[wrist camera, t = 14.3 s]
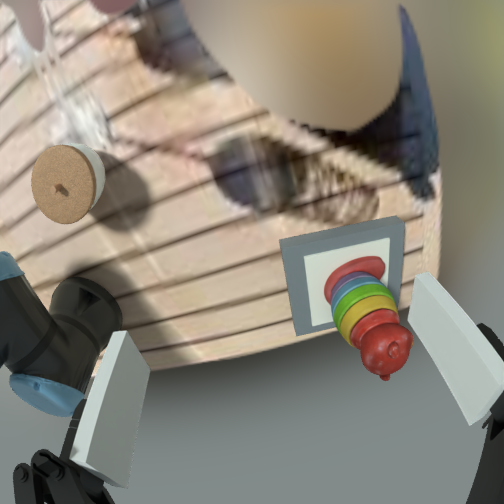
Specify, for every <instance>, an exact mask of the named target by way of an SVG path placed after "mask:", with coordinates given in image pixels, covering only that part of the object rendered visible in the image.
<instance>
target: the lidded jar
mask: <svg viewBox="0 0 504 504" xmlns="http://www.w3.org/2000/svg"><path fill="white" fill-rule="evenodd" d="M104 185H105V169H104V165H103V162H102V160H101V158H100V157H99V155H98V154H97V153H96V152H95V151H94V150H93V149H91V148H90V147H88V146H86V145H83V144H78V143H68V144H62V145H56V146H53V147H51V148H49V149H47V150H45V151H44V152H43V153H42V154H41V155H40V156H39V158H38V159H37V161H36V163H35V165H34V168H33V172H32V179H31V186H32V192H33V196H34V199H35V201H36V204H37V205H38V207H39V209H40V210H41V211H42V212H43V214H44V215H45V216H47V217H48V218H49V219H51V220H52V221H54V222H57V223H61V224H71V223H74V222H77V221H79V220H80V219H82V218H83V217H84V216H85V215H86V214H87V213H88V212H89V210H90V209H91V208H93V206H94V205H95V204H96V202H97V201H98V200H99V198H100V196H101V194H102V192H103V189H104Z"/></svg>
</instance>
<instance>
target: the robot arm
mask: <svg viewBox="0 0 504 504" xmlns="http://www.w3.org/2000/svg"><path fill="white" fill-rule="evenodd" d="M24 274H25V273H24V272H23V271H21V269H20V268H19V266H18V265H17V263H16V261H15V260H14V258H13V257H12V255H11V254H10V253H8V252H5V251H2V252H0V368H1V366H2V365H3V364H5V366H6V367H7V368H8V369H9V370H10V371H11V372H12V375H10V381H9V383H10V387H11V388H12V390H13V391H14V392H15V393H16V394H17V395H18V396H19V397H20V398H21V399H22V400H24V401H25V402H27V403H28V404H30V405H31V406H33V407H35V408H37V409H39V410H41V411H43V412H46V413H48V414H51V415H55V416H60V417H69V416H72V415H73V416H72V420H71V422H70V425H69V427H70V428H68V431H67V434H66V438H65V441H64V444H63V447H62V451H61V454H60V457H59V458H58V457H57V456H55V455H54V454H53V453H51V452H50V451H48V450H46V449H41V450H38V451H37V452H36V453H35V454H34V456H33V457H32V459H31V466H29V465H28V464H26V463H20V464H18V465H17V466H16V468H15V470H14V472H13V483H14V494H15V503H16V504H44V502H46V503H47V504H115V503H114V501H113V499H112V498H111V496H110V495H109V493H108V491H107V489H106V488H105V487H104V486H103V484H104V481H105V482H106V483H108V484H110V485H112V486H116V487H122V488H128V484H129V477H130V471H131V464H132V458H133V452H134V446H135V441H136V435H137V430H138V425H139V420H140V415H141V410H142V405H143V401H144V396H145V391H146V387H147V382H148V378H149V374H150V370H151V369H150V367H149V366H148V364H147V363H146V361H145V360H144V358H143V356H142V355H141V353H140V352H139V350H138V348H137V347H136V345H135V343H134V342H133V340H132V338H131V337H130V335H129V333H128V331H120V328H121V325H122V314H121V311H120V308H119V306H118V304H117V303H116V301H115V300H114V298H113V297H112V296H111V295H110V294H109V293H108V292H107V291H106V290H105V289H104V288H102V287H101V286H100V285H98V284H96V283H94V282H92V281H90V280H88V279H84V278H79V277H72V278H67V279H65V280H63V281H62V282H61V283H60V284H59V285H58V287H57V288H56V289H55V291H54V293H53V295H52V299H51V304H50V307H49V311H47V309H46V308H45V306H44V305H43V304H42V302H41V301H40V299H39V298H38V296H37V295H36V293H35V291H34V290H33V288H32V287H31V285H30V283H29V282H28V280H27V278H26V277H25V275H24ZM408 322H409V323H410V325H411V326H412V328H413V329H414V331H415V332H416V334H417V336H418V337H419V339H420V340H421V342H422V343H423V345H424V347H425V348H426V350H427V351H428V353H429V354H430V356H431V358H432V359H433V361H434V363H435V364H436V366H437V368H438V370H439V371H440V373H441V374H442V376H443V378H444V380H445V381H446V383H447V385H448V387H449V388H450V390H451V392H452V394H453V396H454V397H455V399H456V401H457V403H458V405H459V407H460V408H461V410H462V412H463V414H464V416H465V418H466V420H467V422H468V424H469V425H471V424H473V423H475V422H476V421H478V420H480V419H481V418H483V417H484V415H485V414H486V413H487V412H488V411H489V409H490V411H491V413H492V414H491V416H490V417H489V418H488V419H487V420H486V422H485V423H484V424H483V426H482V428H483V429H484V428H485V427H486V426H487V424H488V423H489V424H488V428H487V434H486V439H485V443H484V448H483V451H482V456H481V459H480V463H479V466H478V470H477V473H476V477H475V479H474V482H473V485H472V488H471V491H470V494H469V497H468V499H467V502H466V504H504V346H503V343H502V342H501V341H500V339H498V337H497V336H496V334H495V333H494V332H493V331H492V329H490V328H489V327H487V326H486V325H484V324H483V323H481V324H478V325H475V324H474V322H473V321H472V320H471V319H470V318H469V316H468V315H467V314H466V313H465V312H464V311H463V309H462V308H461V307H460V306H459V305H458V303H457V302H456V301H455V300H454V299H453V298H452V297H451V296H450V294H449V293H448V292H447V291H446V290H445V289H444V288H443V287H442V286H441V285H440V283H439V282H438V281H437V280H436V279H435V278H434V277H433V276H432V275H431V274H430V273H429V272H425V273H421V274H418V275H415V281H414V287H413V293H412V299H411V305H410V310H409V315H408ZM106 347H107V348H106ZM105 348H106V351H105V353H104V356H103V358H102V361H101V364H100V366H99V369H98V371H97V374H96V377H95V379H94V382H93V385H92V388H91V391H90V394H89V396H88V399H84V395H85V392H86V388H87V386H88V383H89V381H90V378H91V375H92V372H93V370H94V367H95V364H96V362H97V359H98V357H99V355H100V353H101V352H102V351H103V350H104V349H105Z"/></svg>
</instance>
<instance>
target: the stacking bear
mask: <svg viewBox="0 0 504 504" xmlns="http://www.w3.org/2000/svg"><path fill="white" fill-rule="evenodd" d="M384 271H385V263H384V262H383V261H382V259H381V258H380V257H378V256H366V257H360V258H357V259H354V260H351V261H349V262H347V263H345V264H343V265H341V266H340V267H338V268H337V269H335V270H334V271H333V272H332V273H331V274H330V276H329V277H328V279H327V281H326V283H325V286H324V296H325V299H326V301H327V302H328V303H329V304H330V305H331V312H332V317H333V321H334V323H335V325H336V327H337V329H338V331H339V332H340V334H341V335H342V336H343V337H344V339H345V340H346V341H347V342H348V343H349V344H350V345H351V346H353V347H355V348H357V349H360V350H361V351H360V352H361V358H362V362H363V365H364V366H365V368H366V369H367V370H368V371H370V372H371V373H374V374H377V375H380V378H381V379H382V380H384V381H388V380H389V379H390V374H392V373H394V372H396V371H398V370H399V369H400V368H402V367H403V365H404V364H405V363H406V361H407V359H408V356H409V351H410V349H411V347H412V345H413V341H414V340H413V335H412V333H411V332H410V331H409V330H408V329H406V328H405V327H403V326H401V325H400V318H399V315H398V311H397V307H396V304H395V301H394V298H393V296H392V294H391V292H390V291H389V290H388V288H387V287H386V286H385V285H384V284H383V283H382V282H381V281H380V279H381V277H382V276H383V274H384Z"/></svg>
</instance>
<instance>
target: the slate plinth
mask: <svg viewBox="0 0 504 504" xmlns="http://www.w3.org/2000/svg"><path fill="white" fill-rule="evenodd" d="M404 227H405V222H403V221H402V220H401V219H400V218H398V217H397V216H391V217H386V218H381V219H376V220H371V221H367V222H362V223H357V224H352V225H347V226H342V227H337V228H333V229H328V230H323V231H318V232H313V233H309V234H304V235H299V236H294V237H289V238H285V239H280V240H279V243H280V248H281V254H282V259H283V265H284V271H285V276H286V282H287V288H288V294H289V300H290V306H291V312H292V318H293V324H294V328H295V332H296V336H300V335H304V334H309V333H313V332H318V331H322V330H326V329H330V328H334V327H336V325H335V323H334V321H333V317H332V312H331V305H330V304H329V303H328V302H327V301H326V299H325V296H324V286H325V283H326V281H327V279H328V277H329V276H330V274H331V273H332V272H333V271H334V270H335V269H337V268H338V267H340V266H341V265H343V264H345V263H347V262H349V261H351V260H354V259H357V258H360V257H366V256H378V257H380V258H381V259H382V261H383V262H384V263H385V271H384V274H383V276H382V277H381V279H380V281H381V282H382V283H383V284H384V285H385V286H386V287H387V288H388V290H389V291H390V292H391V294H392V296H393V298H394V301H395V304H396V307H397V310H398V303H399V295H400V286H401V276H402V264H403V249H404Z"/></svg>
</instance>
